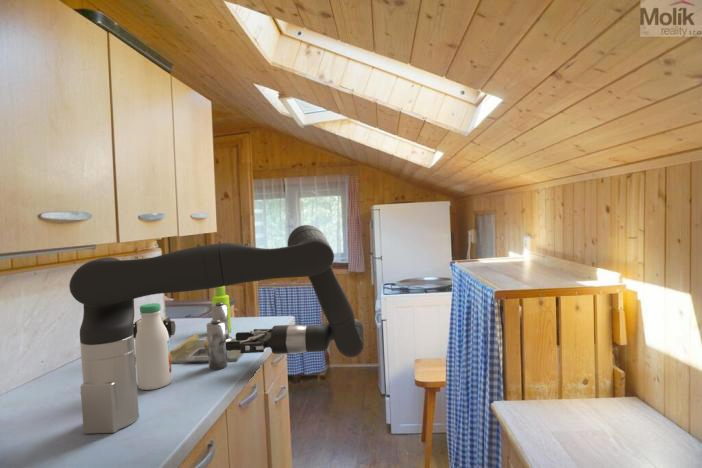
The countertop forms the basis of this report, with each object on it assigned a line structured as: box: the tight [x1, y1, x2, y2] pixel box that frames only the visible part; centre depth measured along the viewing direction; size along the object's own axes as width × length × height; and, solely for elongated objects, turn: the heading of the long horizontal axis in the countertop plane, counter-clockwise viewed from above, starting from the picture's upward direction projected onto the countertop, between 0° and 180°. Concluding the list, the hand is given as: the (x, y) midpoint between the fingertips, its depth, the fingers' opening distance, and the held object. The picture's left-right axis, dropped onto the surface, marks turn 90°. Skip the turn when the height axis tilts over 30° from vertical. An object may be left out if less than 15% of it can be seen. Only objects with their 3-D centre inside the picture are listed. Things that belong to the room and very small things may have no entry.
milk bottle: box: [134, 302, 173, 391], centre depth 102 cm, size 8×8×20 cm
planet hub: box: [206, 319, 228, 371], centre depth 113 cm, size 5×5×13 cm
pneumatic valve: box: [133, 316, 176, 340], centre depth 126 cm, size 6×12×12 cm, turn 97°
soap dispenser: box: [211, 286, 232, 334], centre depth 148 cm, size 6×7×20 cm
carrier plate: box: [170, 302, 248, 364], centre depth 127 cm, size 21×20×14 cm
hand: (231, 341), depth 113 cm, fingers open, 8 cm apart
